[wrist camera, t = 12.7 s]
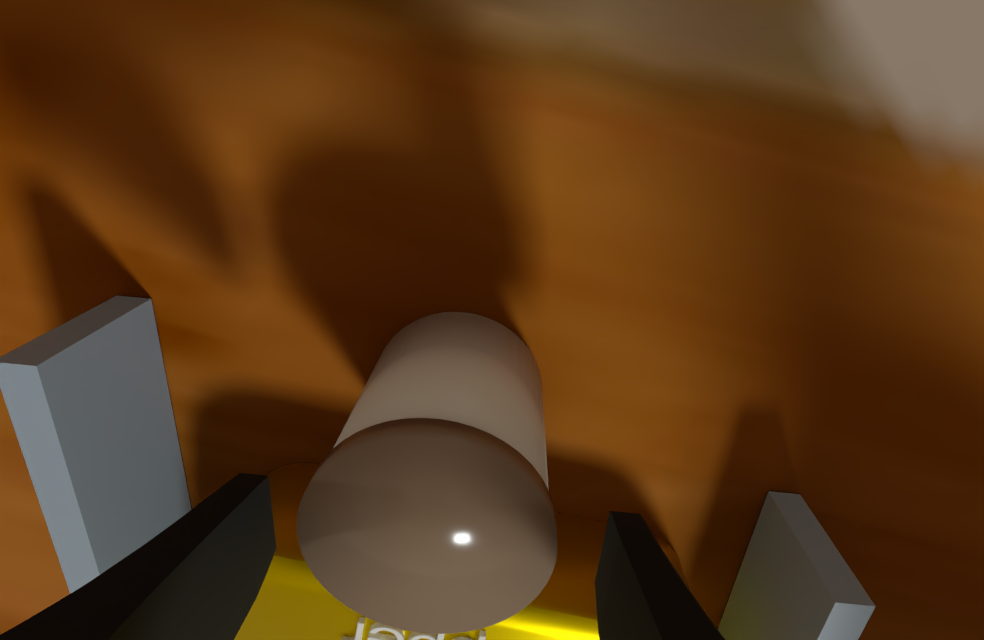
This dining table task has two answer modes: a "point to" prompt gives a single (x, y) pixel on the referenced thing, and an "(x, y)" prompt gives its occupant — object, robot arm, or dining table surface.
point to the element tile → (350, 636)
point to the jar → (437, 483)
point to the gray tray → (164, 498)
